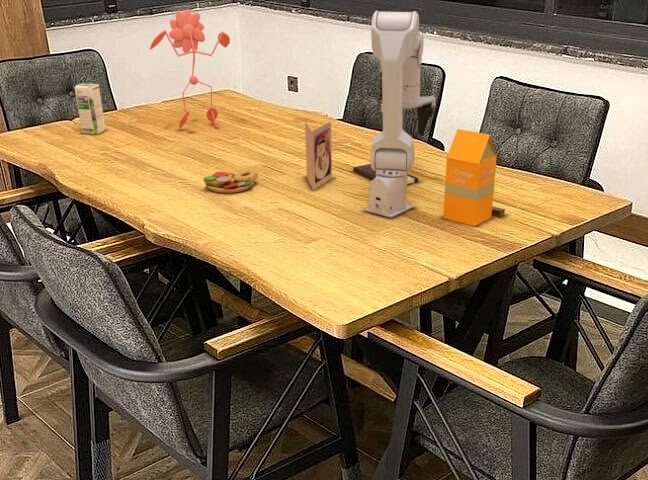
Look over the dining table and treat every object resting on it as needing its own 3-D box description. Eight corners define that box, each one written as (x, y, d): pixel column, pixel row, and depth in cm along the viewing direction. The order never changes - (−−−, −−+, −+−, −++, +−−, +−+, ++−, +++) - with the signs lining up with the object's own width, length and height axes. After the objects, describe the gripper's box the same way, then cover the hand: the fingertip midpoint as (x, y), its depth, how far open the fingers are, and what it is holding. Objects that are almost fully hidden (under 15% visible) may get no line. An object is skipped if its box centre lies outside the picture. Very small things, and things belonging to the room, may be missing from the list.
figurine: (240, 124, 276) (232, 8, 257) (169, 137, 264) (155, 15, 245) (219, 115, 287) (209, 3, 268) (149, 127, 274) (134, 10, 256)
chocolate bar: (380, 161, 234) (418, 178, 221) (380, 165, 235) (418, 181, 222) (353, 167, 230) (390, 183, 217) (353, 170, 231) (390, 187, 218)
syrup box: (81, 133, 269) (73, 86, 261) (91, 129, 274) (83, 82, 266) (97, 134, 268) (89, 87, 260) (106, 130, 272) (99, 83, 264)
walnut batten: (500, 217, 198) (500, 211, 197) (457, 207, 205) (457, 201, 204) (504, 215, 199) (505, 209, 199) (461, 204, 206) (462, 199, 205)
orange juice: (460, 209, 203) (466, 125, 192) (491, 217, 198) (499, 131, 188) (442, 218, 198) (447, 132, 187) (474, 226, 193) (481, 138, 182)
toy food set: (263, 181, 224) (262, 169, 222) (245, 196, 213) (244, 184, 212) (217, 177, 227) (215, 165, 226) (197, 192, 217) (196, 180, 215)
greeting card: (316, 190, 217) (314, 131, 209) (291, 187, 219) (288, 128, 211) (334, 178, 225) (334, 121, 217) (310, 175, 228) (308, 118, 220)
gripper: (427, 75, 216) (426, 127, 224) (376, 83, 212) (376, 135, 220) (439, 82, 210) (437, 135, 219) (387, 90, 207) (386, 144, 215)
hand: (407, 136), depth 219 cm, fingers open, 7 cm apart
